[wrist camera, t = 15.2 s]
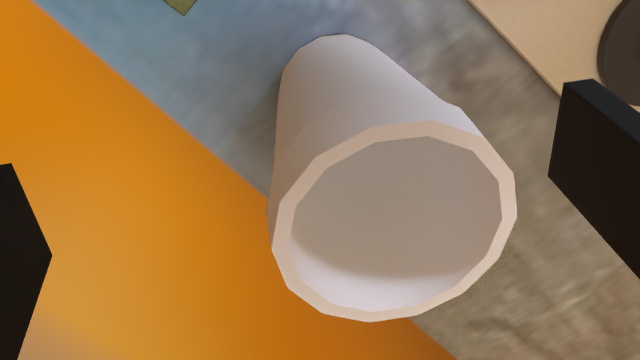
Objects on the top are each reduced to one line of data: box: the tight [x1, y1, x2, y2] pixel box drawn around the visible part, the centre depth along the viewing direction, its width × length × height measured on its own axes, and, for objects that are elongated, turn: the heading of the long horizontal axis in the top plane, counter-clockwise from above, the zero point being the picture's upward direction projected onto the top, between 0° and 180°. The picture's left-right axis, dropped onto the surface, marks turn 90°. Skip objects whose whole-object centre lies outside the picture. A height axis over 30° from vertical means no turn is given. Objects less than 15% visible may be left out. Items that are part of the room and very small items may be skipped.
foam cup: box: [266, 34, 517, 322], centre depth 27 cm, size 10×9×13 cm
